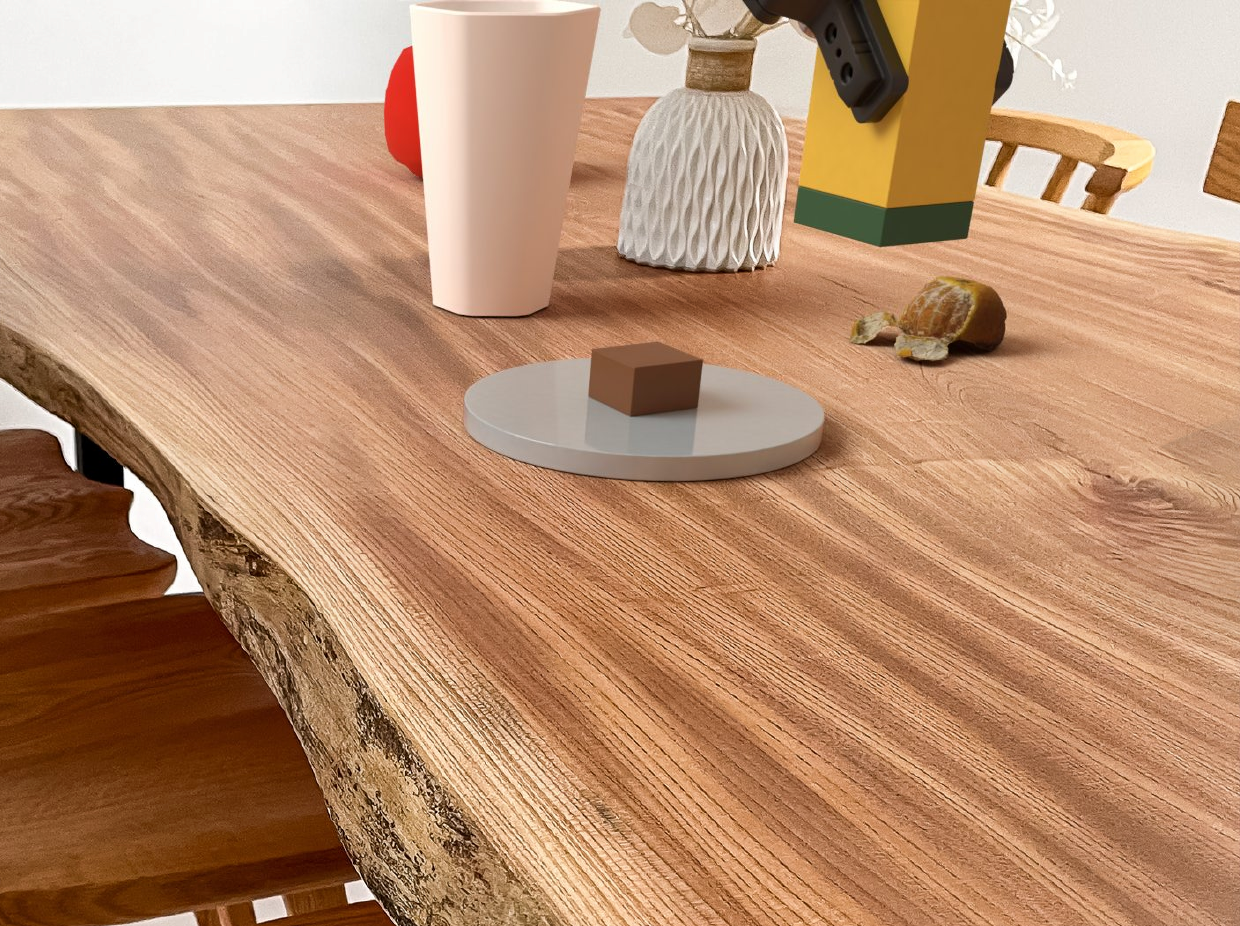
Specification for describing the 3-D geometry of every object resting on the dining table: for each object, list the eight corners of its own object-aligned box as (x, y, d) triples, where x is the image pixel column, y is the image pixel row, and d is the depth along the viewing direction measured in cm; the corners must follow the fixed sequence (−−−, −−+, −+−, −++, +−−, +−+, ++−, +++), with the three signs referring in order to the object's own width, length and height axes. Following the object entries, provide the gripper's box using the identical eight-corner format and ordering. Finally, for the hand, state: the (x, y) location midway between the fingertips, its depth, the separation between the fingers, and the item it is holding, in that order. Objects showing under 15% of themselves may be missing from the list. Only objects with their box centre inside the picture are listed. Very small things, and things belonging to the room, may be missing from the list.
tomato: (378, 188, 149) (380, 51, 144) (386, 163, 161) (389, 35, 155) (539, 191, 148) (547, 53, 143) (537, 166, 160) (544, 37, 154)
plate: (766, 377, 98) (769, 355, 97) (870, 479, 82) (874, 453, 82) (444, 380, 97) (444, 358, 96) (488, 484, 81) (489, 458, 81)
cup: (404, 323, 108) (412, 12, 99) (400, 286, 117) (407, -3, 108) (586, 324, 108) (610, 13, 99) (569, 288, 117) (590, -1, 108)
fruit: (833, 334, 106) (843, 270, 104) (950, 324, 109) (962, 262, 107) (914, 368, 100) (925, 301, 98) (1037, 356, 102) (1050, 291, 100)
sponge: (792, 222, 66) (827, -33, 62) (877, 215, 68) (917, -35, 63) (879, 247, 62) (923, -23, 58) (968, 239, 64) (1016, -26, 59)
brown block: (654, 388, 91) (658, 341, 90) (698, 408, 88) (703, 359, 87) (587, 396, 90) (591, 348, 89) (630, 417, 87) (634, 367, 85)
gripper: (657, -408, 58) (834, 33, 55) (989, -385, 63) (1168, 20, 60) (561, -216, 65) (714, 187, 62) (869, -209, 70) (1024, 163, 67)
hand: (937, 102), depth 61 cm, fingers closed on sponge, 4 cm apart
